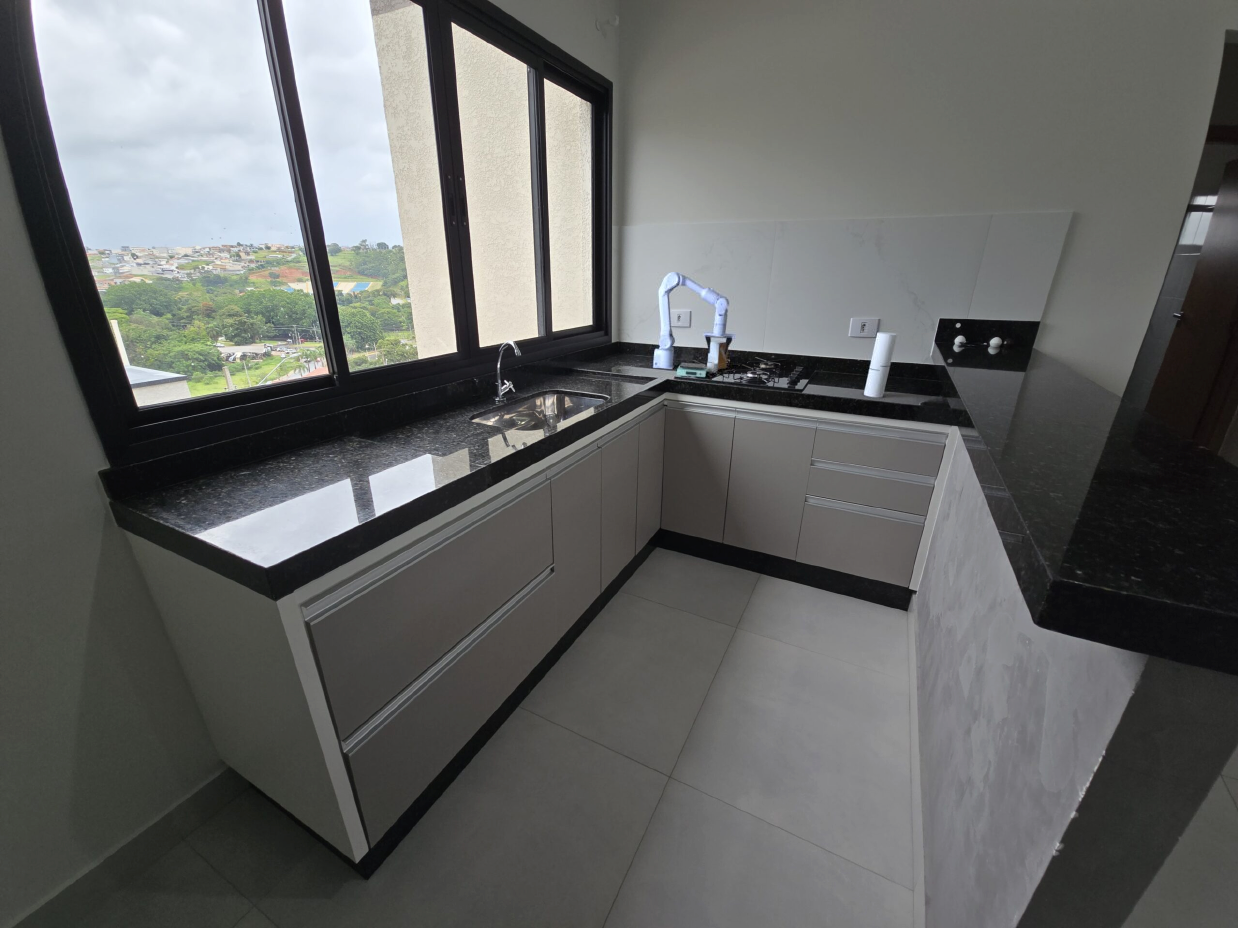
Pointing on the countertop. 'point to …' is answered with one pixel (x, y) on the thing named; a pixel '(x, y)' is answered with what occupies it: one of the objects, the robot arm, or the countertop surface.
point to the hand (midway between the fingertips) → (717, 353)
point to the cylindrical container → (880, 364)
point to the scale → (692, 372)
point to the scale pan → (692, 365)
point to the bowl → (712, 367)
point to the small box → (718, 354)
